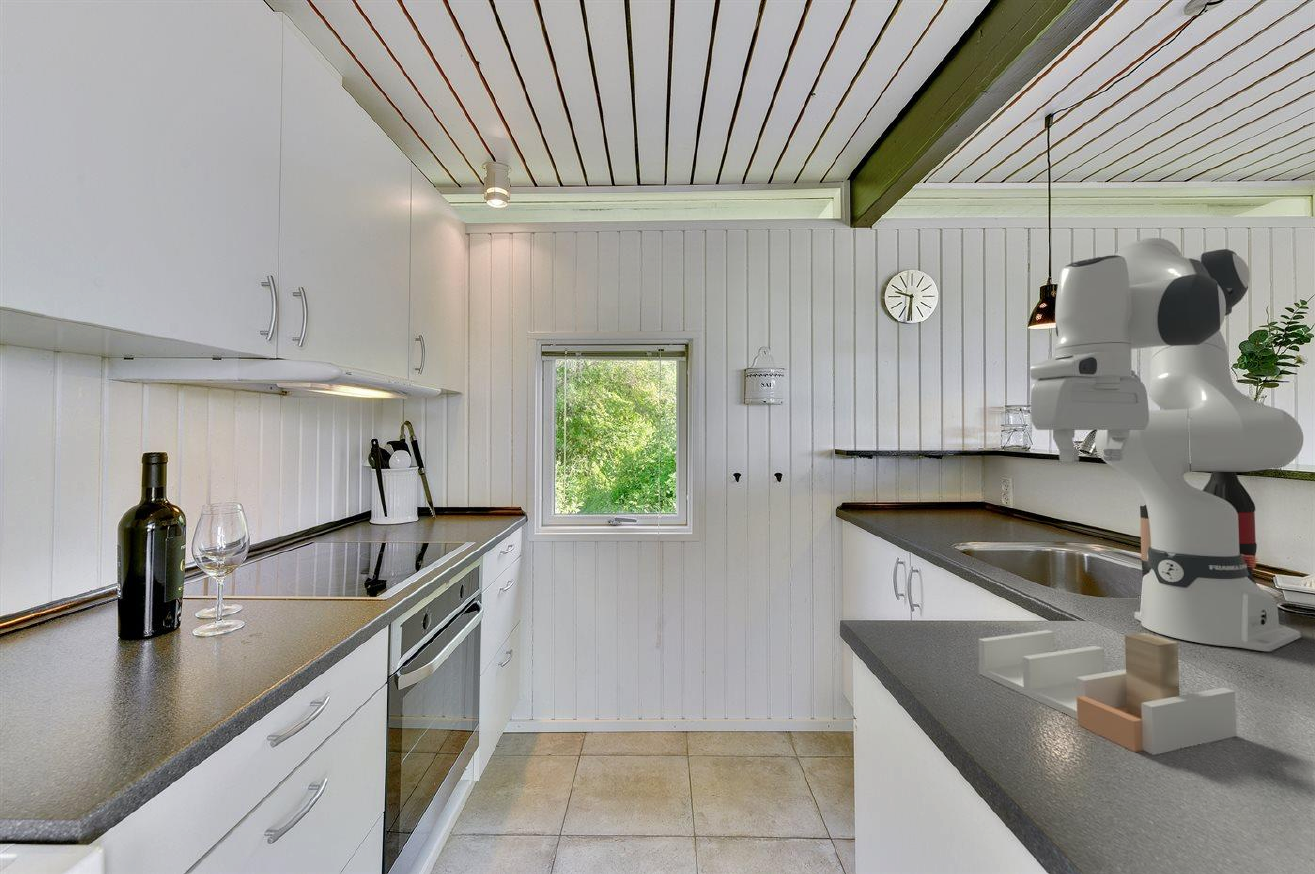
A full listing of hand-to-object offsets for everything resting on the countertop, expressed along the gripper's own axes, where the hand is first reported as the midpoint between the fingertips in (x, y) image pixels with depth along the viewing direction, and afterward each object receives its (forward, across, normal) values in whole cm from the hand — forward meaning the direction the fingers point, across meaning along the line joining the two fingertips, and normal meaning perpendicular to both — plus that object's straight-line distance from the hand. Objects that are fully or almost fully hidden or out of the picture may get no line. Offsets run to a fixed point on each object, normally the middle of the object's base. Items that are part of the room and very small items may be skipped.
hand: (1091, 461), depth 81 cm
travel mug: (+31, -49, -17) cm, 61 cm away
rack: (+30, +11, +7) cm, 33 cm away
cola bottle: (+31, -60, -12) cm, 69 cm away
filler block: (+29, +12, +14) cm, 34 cm away
